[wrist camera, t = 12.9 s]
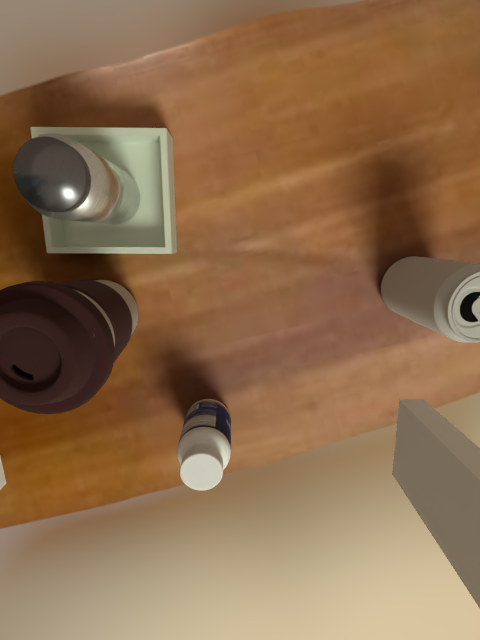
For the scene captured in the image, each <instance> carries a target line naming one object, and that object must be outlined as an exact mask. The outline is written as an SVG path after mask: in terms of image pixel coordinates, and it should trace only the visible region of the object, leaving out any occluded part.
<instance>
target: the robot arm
mask: <svg viewBox="0 0 480 640" xmlns="http://www.w3.org/2000/svg"><path fill="white" fill-rule="evenodd" d="M393 476H394V477H395V479H396V480H397V482H398V483H399V485H400V486H401V488H402V489H403V491H404V493H405V494H406V496H407V497H408V499H409V500H410V502H411V503H412V505H413V506H414V508H415V509H416V511H417V513H418V514H419V516H420V517H421V519H422V520H423V522H424V523H425V525H426V526H427V528H428V529H429V531H430V532H431V534H432V536H433V537H434V539H435V540H436V542H437V543H438V545H439V546H440V548H441V549H442V551H443V552H444V554H445V555H446V557H447V559H448V560H449V562H450V563H451V565H452V566H453V568H454V569H455V571H456V572H457V574H458V575H459V577H460V579H461V580H462V582H463V583H464V585H465V586H466V587H467V589H468V591H469V592H470V594H471V595H472V597H473V598H474V600H475V602H476V603H477V604H478V606H479V608H480V448H479V447H478V446H477V445H475V444H474V443H473V442H472V441H471V440H469V439H468V438H467V437H466V436H465V435H464V434H463V433H462V432H460V431H459V430H458V429H457V428H456V427H455V426H454V425H452V424H451V423H450V422H449V421H448V420H447V419H446V418H444V417H443V416H442V415H441V414H440V413H439V412H438V411H436V410H435V409H434V408H433V407H432V406H431V405H430V404H428V403H427V402H426V401H425V400H424V399H407V400H399V410H398V421H397V432H396V442H395V453H394V463H393ZM5 484H6V480H5V475H4V471H3V466H2V461H1V457H0V490H1V489H2V488H3V486H4V485H5Z"/></svg>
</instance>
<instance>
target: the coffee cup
mask: <svg viewBox="0 0 480 640" xmlns="http://www.w3.org/2000/svg"><path fill="white" fill-rule="evenodd" d="M137 323H138V308H137V304H136V302H135V300H134V298H133V296H132V295H131V294H130V293H129V291H128V290H126V289H125V288H124V287H123V286H121V285H119V284H118V283H115V282H112V281H109V280H94V281H93V280H78V281H70V282H63V283H53V282H44V281H34V282H26V283H21V284H17V285H13V286H9V287H6V288H4V289H2V290H0V398H1V399H2V400H4V401H5V402H7V403H9V404H11V405H13V406H15V407H17V408H19V409H22V410H25V411H28V412H33V413H39V414H56V413H62V412H67V411H70V410H73V409H75V408H77V407H80V406H81V405H83V404H85V403H86V402H87V401H89V400H90V399H91V398H92V397H93V396H94V395H95V394H96V393H97V392H98V391H99V389H100V388H101V387H102V386H103V385H104V384H105V382H106V380H107V379H108V377H109V375H110V373H111V370H112V367H113V363H114V362H115V360H116V359H117V358H118V356H119V355H120V353H121V352H122V351H123V349H124V348H125V346H126V345H127V343H128V341H129V339H130V336H131V335H132V333H133V332H134V330H135V328H136V326H137Z"/></svg>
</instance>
